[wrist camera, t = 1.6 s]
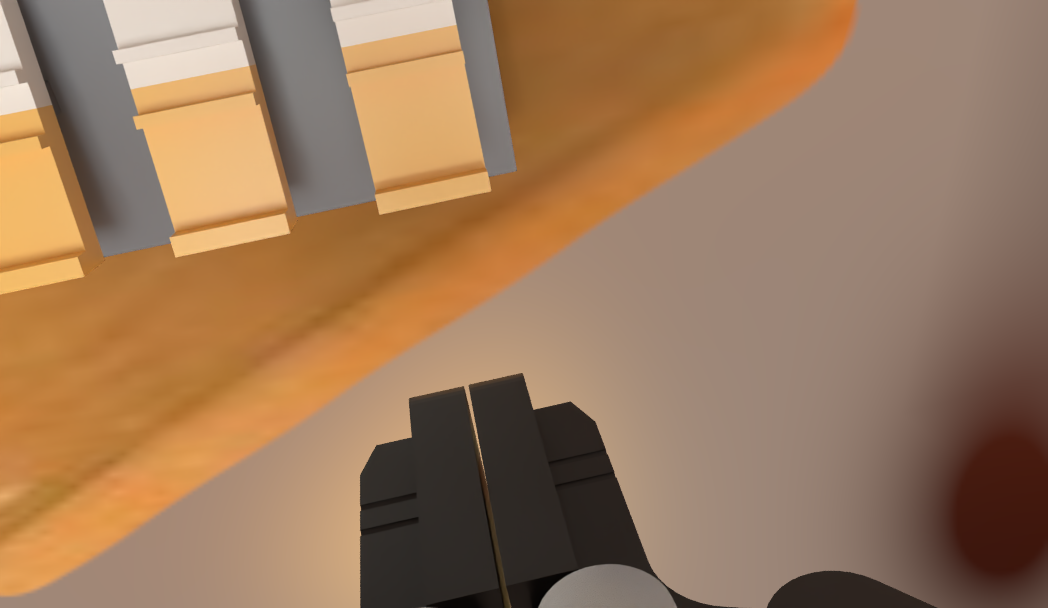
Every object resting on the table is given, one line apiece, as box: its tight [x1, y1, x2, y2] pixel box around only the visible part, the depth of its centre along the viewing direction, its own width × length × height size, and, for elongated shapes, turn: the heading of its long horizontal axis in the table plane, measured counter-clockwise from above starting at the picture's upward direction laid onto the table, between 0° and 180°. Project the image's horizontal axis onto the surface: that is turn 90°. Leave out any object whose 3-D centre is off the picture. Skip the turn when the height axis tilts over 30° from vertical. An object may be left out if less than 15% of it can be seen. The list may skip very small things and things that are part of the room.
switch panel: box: [17, 0, 517, 257], centre depth 25 cm, size 10×15×5 cm
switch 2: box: [330, 0, 491, 215], centre depth 22 cm, size 8×3×2 cm, turn 9°
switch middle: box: [103, 0, 298, 257], centre depth 22 cm, size 8×3×2 cm, turn 9°
